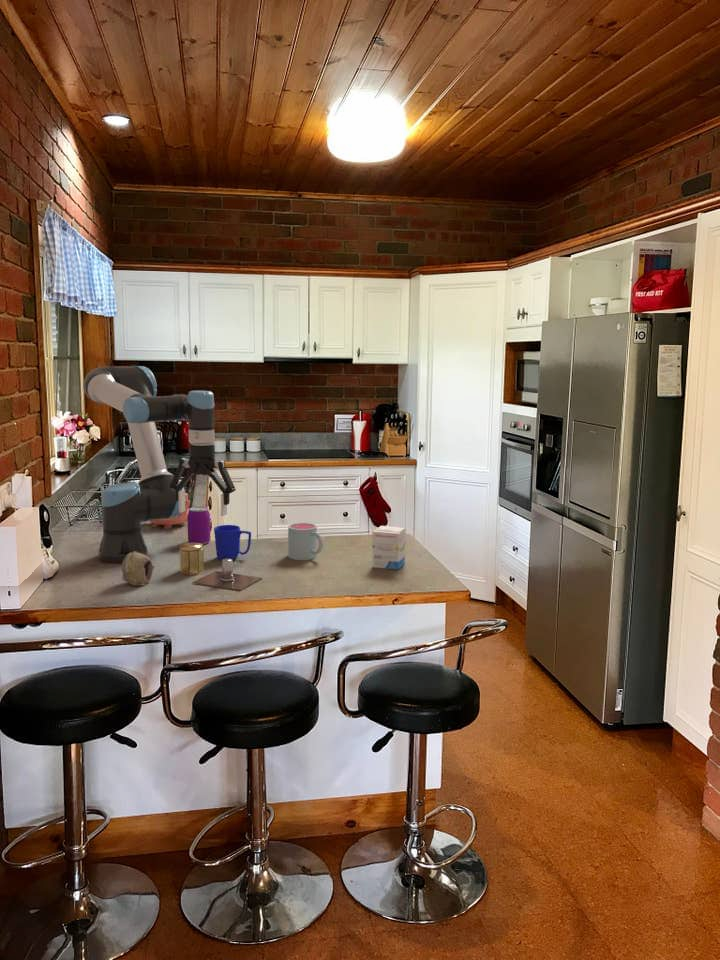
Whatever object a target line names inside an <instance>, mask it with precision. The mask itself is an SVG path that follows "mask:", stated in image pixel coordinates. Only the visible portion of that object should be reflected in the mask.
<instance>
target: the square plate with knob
mask: <svg viewBox="0 0 720 960" xmlns="http://www.w3.org/2000/svg"><path fill="white" fill-rule="evenodd" d="M233 565H234V564H233V559H223V560H221V571H217V570H214V571H213V572H210V573H208V574H207V575H204V576H202V577H200V578H198V579H196V580H194V581H192V583H195V584H194V585H199V584H202V585H201V586H205V585H208V587H212V586H213V588H220V589H225V590H232V591H233V590H234V591H238V592H241V591H243V590H245V589H247V588H248V587H250V586H252V585H253V584H255V583H257V582H259V581H262V580H263V577H260V576H253V575H245V574H240V573H239V574H238V573H233V570H234V567H233Z"/></svg>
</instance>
